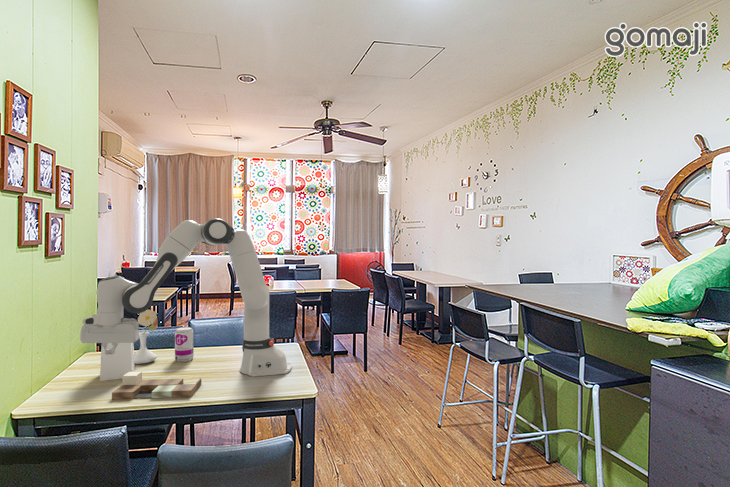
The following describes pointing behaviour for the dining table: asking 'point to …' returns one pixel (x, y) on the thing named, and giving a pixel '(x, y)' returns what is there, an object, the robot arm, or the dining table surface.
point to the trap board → (156, 389)
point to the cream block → (132, 378)
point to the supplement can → (183, 344)
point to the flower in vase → (144, 353)
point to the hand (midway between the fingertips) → (110, 354)
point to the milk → (117, 361)
